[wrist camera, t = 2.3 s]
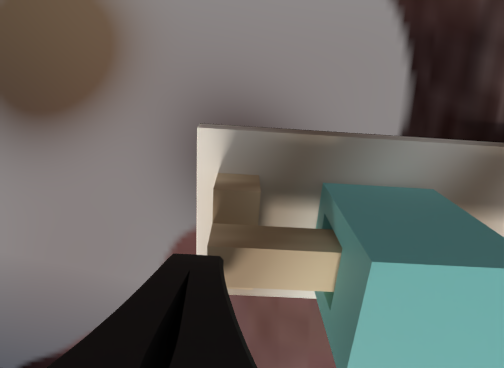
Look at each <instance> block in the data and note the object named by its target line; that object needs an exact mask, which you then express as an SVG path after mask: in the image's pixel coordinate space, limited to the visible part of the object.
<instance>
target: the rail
mask: <svg viewBox="0 0 504 368" xmlns="http://www.w3.org/2000/svg"><path fill="white" fill-rule="evenodd" d="M323 183H336V184H353V185H371V186H388V187H405V188H422V189H434V190H435V191H437V192H438V193H440V194H441V195H443V196H444V197H446V198H447V199H448V200H450V201H451V202H453V203H454V204H456V205H457V206H459V207H460V208H462V209H463V210H465V211H466V212H468V213H469V214H470V215H472V216H473V217H475V218H476V219H478V220H479V221H481V222H482V223H484V224H485V225H487V226H488V227H489V228H491V229H492V230H494V231H495V232H497V233H498V234H500V235H501V236H503V237H504V143H500V142H485V141H469V140H453V139H438V138H422V137H407V136H391V135H375V134H360V133H359V134H358V133H344V132H328V131H327V132H326V131H312V130H296V129H280V128H265V127H250V126H235V125H219V124H203V123H200V124H199V126H198V127H197V253H196V255H211V256H220V257H221V258H222V259H223V260H224V266H223V269H224V277H225V282H226V286H227V290H228V294H229V295H250V296H272V297H293V298H315V299H317V298H316V295H315V291H324V292H334V290H335V285H336V279H337V274H338V269H339V264H340V259H341V253H342V246H341V244H340V242H339V240H338V238H337V236H336V235H335V233H334V231H333V230H331V229H316V224H317V217H318V211H319V204H320V198H321V191H322V185H323Z"/></svg>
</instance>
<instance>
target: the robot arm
mask: <svg viewBox="0 0 504 368" xmlns="http://www.w3.org/2000/svg"><path fill="white" fill-rule="evenodd" d="M223 266H224V260H223V259H222V258H221V257H220V256H211V255H191V254H173V255H171V256H170V257H169V258H168V259H167V260H166V261H165V262H164V263H163V264H162V265H161V267H160V268H159V269H158V270H157V271H156V272H155V273H154V274H153V275H152V276H151V277H150V278H149V279H148V280H147V281H146V282H145V283H144V284H143V285H142V286H141V287H140V288H139V289H138V290H137V291H136V292H135V293H134V294H133V295H132V296H131V297H130V298H129V299H128V300H127V301H126V302H125V303H124V304H122V305H121V306H120V307H119V308H118V309H117V310H116V311H115V312H114V313H113V314H111V315H110V316H109V317H108V318H107V319H106V320H105V321H103V322H102V323H101V324H100V325H99V326H98V327H97V328H95V329H94V330H93V331H92V332H91V333H90V334H89V335H87V336H86V337H85V338H84V339H82V340H81V341H80V342H79V343H78V344H76V345H75V346H74V347H73V348H71V349H70V350H69V351H68V352H66V353H65V354H64V355H63V356H61V357H60V358H59V359H57V360H56V361H55V362H53V363H52V364H51V365H49V366H48V367H47V368H257V366H256V364H255V362H254V360H253V358H252V356H251V353H250V351H249V349H248V347H247V344H246V342H245V339H244V337H243V335H242V332H241V330H240V327H239V324H238V322H237V319H236V316H235V313H234V310H233V307H232V304H231V301H230V298H229V294H228V290H227V286H226V282H225V277H224V269H223Z"/></svg>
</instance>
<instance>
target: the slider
mask: <svg viewBox="0 0 504 368" xmlns="http://www.w3.org/2000/svg"><path fill="white" fill-rule="evenodd" d="M316 229H331V230H333V231H334V233H335V235H336V236H337V238H338V240H339V242H340V244H341V246H342V253H341V259H340V264H339V269H338V274H337V279H336V285H335V290H334V292H324V291H315V295H316V298H317V302H318V305H319V309H320V312H321V316H322V319H323V323H324V326H325V329H326V333H327V336H328V340H329V343H330V347H331V350H332V354H333V357H334V360H335V364H336V367H337V368H504V237H503V236H501V235H500V234H498V233H497V232H495V231H494V230H492V229H491V228H489V227H488V226H487V225H485V224H484V223H482V222H481V221H479V220H478V219H476V218H475V217H473V216H472V215H470V214H469V213H468V212H466V211H465V210H463V209H462V208H460V207H459V206H457V205H456V204H454V203H453V202H451V201H450V200H448V199H447V198H446V197H444V196H443V195H441V194H440V193H438V192H437V191H435V190H434V189H422V188H405V187H388V186H371V185H353V184H336V183H323V185H322V191H321V198H320V204H319V211H318V217H317V224H316Z"/></svg>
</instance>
